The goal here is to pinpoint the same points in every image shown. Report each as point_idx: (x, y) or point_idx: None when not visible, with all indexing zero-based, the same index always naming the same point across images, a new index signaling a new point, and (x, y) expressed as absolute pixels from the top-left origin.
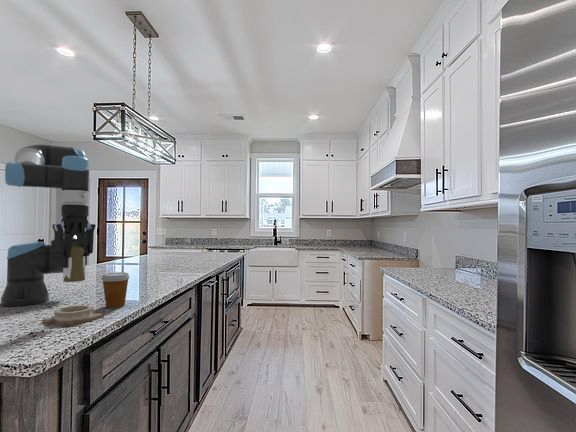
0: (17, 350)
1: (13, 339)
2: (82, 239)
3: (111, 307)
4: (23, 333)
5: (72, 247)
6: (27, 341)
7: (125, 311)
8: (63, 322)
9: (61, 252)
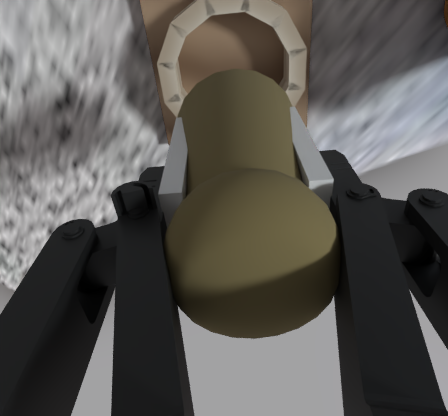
0: (4, 212)
1: (9, 116)
2: (345, 407)
3: (445, 17)
4: (45, 76)
5: (200, 323)
6: (36, 168)
7: (396, 127)
8: (164, 112)
9: (87, 299)
